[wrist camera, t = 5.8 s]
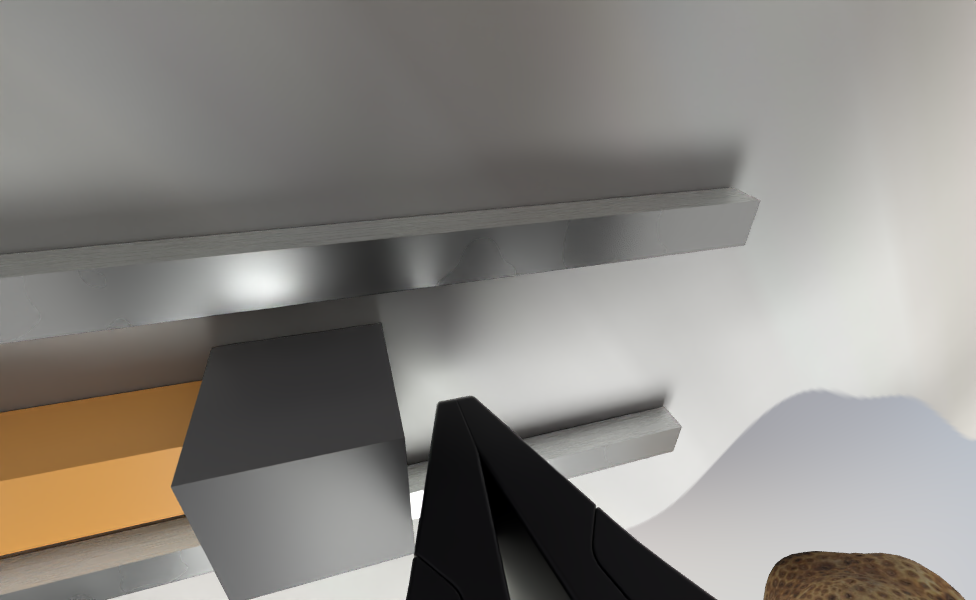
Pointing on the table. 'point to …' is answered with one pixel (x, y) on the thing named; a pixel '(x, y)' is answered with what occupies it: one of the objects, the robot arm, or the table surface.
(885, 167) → the table surface
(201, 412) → the grey-capped orange bar
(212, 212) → the table surface
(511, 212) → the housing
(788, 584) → the natural sponge
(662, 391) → the table surface
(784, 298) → the table surface
